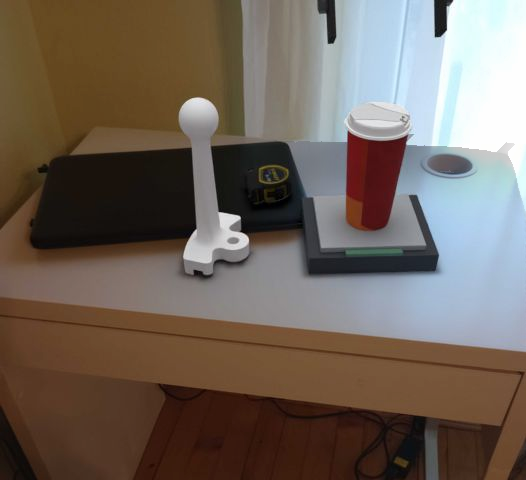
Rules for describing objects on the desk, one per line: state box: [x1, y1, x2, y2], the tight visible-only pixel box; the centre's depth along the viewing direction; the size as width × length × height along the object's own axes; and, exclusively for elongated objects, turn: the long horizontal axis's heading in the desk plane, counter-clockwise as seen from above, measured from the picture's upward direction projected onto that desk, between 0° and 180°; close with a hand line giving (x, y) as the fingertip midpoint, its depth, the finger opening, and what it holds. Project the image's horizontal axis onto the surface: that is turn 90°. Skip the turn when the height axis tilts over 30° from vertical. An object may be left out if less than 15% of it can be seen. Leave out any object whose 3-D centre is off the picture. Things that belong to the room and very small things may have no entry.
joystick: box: [178, 97, 250, 276], centre depth 75 cm, size 11×8×20 cm
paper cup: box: [343, 101, 413, 231], centre depth 77 cm, size 8×8×14 cm
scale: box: [300, 193, 440, 275], centre depth 83 cm, size 16×14×3 cm
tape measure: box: [242, 163, 294, 206], centre depth 91 cm, size 7×7×4 cm
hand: (386, 37), depth 79 cm, fingers open, 13 cm apart
